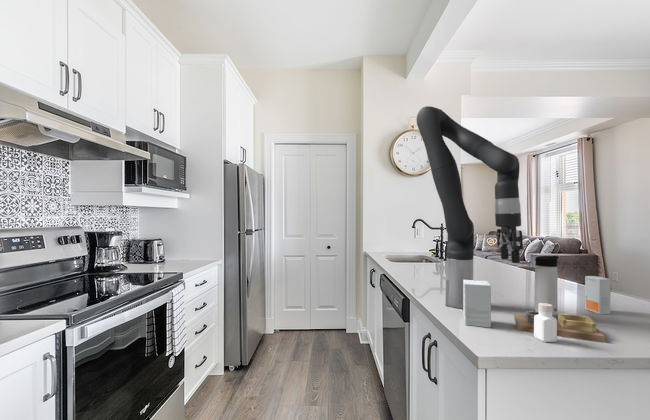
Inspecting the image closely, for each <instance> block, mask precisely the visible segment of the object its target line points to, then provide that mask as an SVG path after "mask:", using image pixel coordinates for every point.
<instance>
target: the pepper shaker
mask: <svg viewBox="0 0 650 420" xmlns="http://www.w3.org/2000/svg"><path fill="white" fill-rule="evenodd" d="M538 311H539V314H538V315H535V316H534V333H533V336H534V338H535V339H537V340H538V341H541V342H543V343H555V342H557V340H558V339H557V337H558V336H557V320H556V319H557V318H554V317H552V305H551V304H547V303H539V304H538Z"/></svg>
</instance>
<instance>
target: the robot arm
mask: <svg viewBox="0 0 650 420" xmlns="http://www.w3.org/2000/svg"><path fill="white" fill-rule="evenodd" d="M416 124H417V125H416V126H417V129H418V131H419V134H420V136H421V139H422V141H423V144H424V147H425V150H426V155H427V160H428V163H429V167H430V171H431V175H432V179H433V183H434V186H435V189H436V192H437V195H438V197H439V200H440V202H441V206H442V210H443V211H442V212H443V215H444V222H445V230H446V233H447V234H446V235H447V236H446V237H447V238H446V239H447V244H446V245H447V246H446V271H445V272H446V278H445V306H447V307H448V306H449V307H451V308H456V309H463V280H474V255H475V254H474V252H475V248H474V247H475V245H474V244H475V243H474V242H475V241H474V240H475V227H474V223H473V221H472V220H471V218H470V215H469V214H468V211H467V208H466V204H465V202H464V199H463V197H464V196H463V191H462V181H461V175H460V171H459V168H458V165H457V162H456V159H455V157H454V155H453V154H452V152H451V150H450V148H449V147H448V145H447V144H446V142H445V140H444V137H445V138H447V139H449V140H450V141H452V142H453V143H454V144H455V145H456V146H457V147H458V148H460V149H461V150H463V151H464V152H465V153H467V154H468V155H470V156H472V157H473V158H475V159H476V160H479V161H481V162H482V163H483V164H485V165H486V166H488V167H489V168H490V169H492V170H493V171H494V172H496V175H497V178H496V179H497V180H496V183H495V186H494V199H495V200H494V217H495V218H494V219H495V221H494V222H495V226H496V227H497V229H496V242H497V244H496V245H497V246H498V247H499V249H500V259H501V260H503V261H505V260H509V248H510V255H511V257H510V258H511V259H510V260H511V263H512V264H519V263H520V261H521V258H520V257H521V256H520V252H521V250H524V244H523V242H524V241H523V240H524V239H523V231H522V230H517V227H521V226H522V212H521V211H522V210H521V201H520V192H519V191H520V189H519V178H520V161H519V158H518V157H517V155H516V154H513V153H511V152H509V151H506V149H504V148H501V147H499V146H497V145H495V144H494V143H493V142H491V141H490V140H488V139H487V138H485V137H483V136H481V135H480V134H478V133H476V132H474V131H472V130H470V129H467V128H466V127H464V126H463V125H461V124H459V123H458V122H456V121H455V120H454V119H453V118H451V116H449V115H448V114H447V113H446V112H445V111H444V110H442V109H440V108H438V107H435V106H429V105H428V106H423V107H421V109H419V111H418V112H417V115H416Z"/></svg>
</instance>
